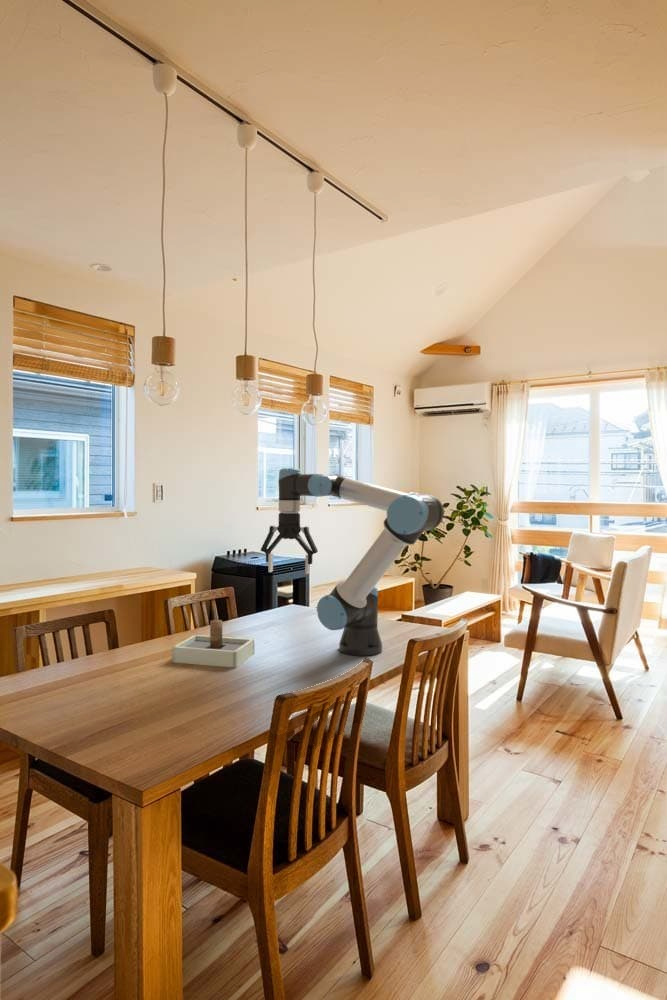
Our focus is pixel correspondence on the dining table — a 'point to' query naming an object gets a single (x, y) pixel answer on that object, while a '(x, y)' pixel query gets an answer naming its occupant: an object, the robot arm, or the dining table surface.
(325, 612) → the robot arm
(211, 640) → the peg
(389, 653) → the dining table surface
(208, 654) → the box
